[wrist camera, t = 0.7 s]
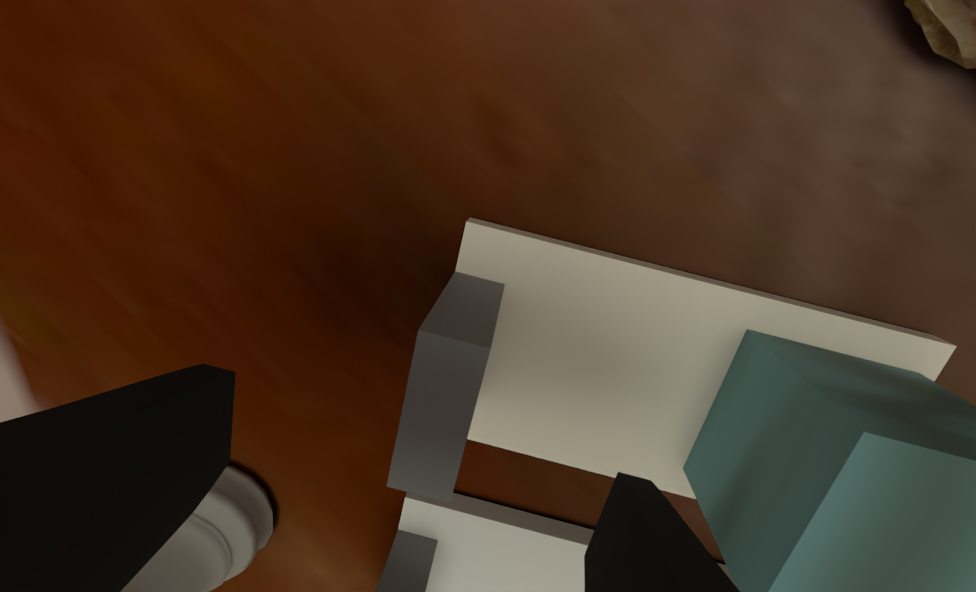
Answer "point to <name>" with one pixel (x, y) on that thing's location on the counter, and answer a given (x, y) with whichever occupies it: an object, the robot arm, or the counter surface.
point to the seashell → (948, 28)
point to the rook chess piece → (211, 539)
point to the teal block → (836, 474)
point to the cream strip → (595, 358)
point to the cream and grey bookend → (483, 549)
